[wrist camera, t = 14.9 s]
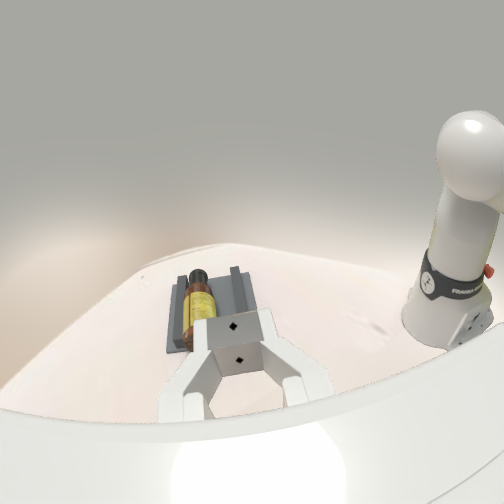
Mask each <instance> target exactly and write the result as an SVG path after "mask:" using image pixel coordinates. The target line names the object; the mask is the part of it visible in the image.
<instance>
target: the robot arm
mask: <svg viewBox="0 0 504 504" xmlns="http://www.w3.org/2000/svg"><path fill="white" fill-rule="evenodd" d="M436 160H437V165H438V169H439V172H440V174H441V176H442V178H443V180H444V185H443V189H442V193H441V197H440V200H439V204H438V206H437V210H436V216H435V221H434V225H433V230H432V235H431V239H430V244H429V248H428V249H427V250H426V252H425V255H424V257H423V262H422V266H421V270H420V272H419V275H418V277H417V280H416V282H415V285H414V287H413V288H411V289H410V291H409V294H408V301H407V302H406V304H405V306H404V308H403V310H402V321H403V324H404V326H405V328H406V330H407V331H408V332H409V333H410V335H411V336H413V337H414V338H415V339H416V340H417V341H419V342H421V343H423V344H425V345H428V346H431V347H435V348H441V349H445V350H447V351H448V352H446V353H444V354H442V355H439V356H438V357H435V358H433V359H431V360H429V361H426V362H424V363H422V364H420V365H417V366H415V367H413V368H410V369H408V370H405V371H403V372H400V373H398V374H395V375H393V376H390V377H387V378H384V379H382V380H379V381H376V382H373V383H371V384H367V385H364V386H362V387H358V388H355V389H352V390H349V391H346V392H342V393H339V394H336V392H335V389H334V387H333V384H332V381H331V379H330V376H329V374H328V371H327V368H326V367H325V366H323V365H322V364H320V363H319V362H317V361H316V360H314V359H313V358H311V357H310V356H309V355H307V354H306V353H304V352H303V351H301V350H300V349H299V348H297V347H296V346H294V345H293V344H292V343H290V342H289V341H287V340H286V339H285V338H283V337H281V338H279V336H278V333H277V329H276V326H275V323H274V319H273V316H272V312H271V309H270V308H264V309H259V310H254V311H249V312H244V313H238V314H233V315H227V316H220V317H213V318H207V319H200V320H194V325H193V349H194V352H191V353H189V355H188V356H187V357H186V359H185V360H184V361H183V363H182V364H181V365H180V367H179V368H178V369H177V371H176V372H175V373H174V375H173V376H172V378H171V379H170V380H169V382H168V383H167V384H166V386H165V387H164V388H163V390H162V391H161V392H160V394H159V399H158V419H157V423H103V422H87V421H75V420H66V419H57V418H50V417H43V416H37V415H31V414H25V413H20V412H15V411H11V410H6V409H1V408H0V504H504V323H499V324H497V325H495V326H494V327H492V328H490V329H489V330H487V331H486V332H484V331H485V330H486V329H487V328H488V327H489V326H490V325H491V324H492V322H493V319H494V317H493V314H492V311H491V309H490V304H491V301H492V296H491V293H490V291H489V289H488V287H487V286H486V285H485V283H484V282H483V278H484V274H485V276H486V277H487V278H488V279H489V278H491V276H492V275H493V273H494V269H493V268H491V267H490V266H489V265H488V264H486V261H487V258H488V255H489V252H490V249H491V246H492V243H493V239H494V236H495V233H496V229H497V225H498V220H499V215H500V212H501V213H503V214H504V126H503V125H502V124H501V123H500V122H499V120H498V119H496V118H495V117H494V116H493V115H491V114H489V113H487V112H485V111H480V110H472V111H466V112H461V113H459V114H456V115H454V116H452V117H451V118H450V119H449V120H448V121H446V123H445V124H444V125H443V127H442V129H441V131H440V133H439V137H438V140H437V148H436ZM485 264H486V265H485ZM483 332H484V333H483ZM481 333H482V334H481ZM261 370H264V371H265V372H266V373H267V374H268V375H269V376H270V377H271V378H272V379H273V380H274V381H275V382H276V383H278V384H279V385H280V386H281V387H282V388H283V406H284V407H283V408H279V409H274V410H269V411H263V412H257V413H251V414H245V415H239V416H232V417H224V418H216V419H215V417H214V415H213V413H212V412H211V410H210V408H209V406H208V405H209V403H210V401H211V399H212V397H213V395H214V393H215V391H216V389H217V387H218V386H219V384H220V382H221V380H222V377H225V376H231V375H236V374H242V373H248V372H255V371H261Z"/></svg>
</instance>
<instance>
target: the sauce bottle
mask: <svg viewBox="0 0 504 504" xmlns="http://www.w3.org/2000/svg"><path fill="white" fill-rule="evenodd" d="M207 281H208V277H207V274H206V272H205V271H204V270H201V269H195V270H193V271H192V272H191V273H190V275H189V282H190V286H189V287H188V288H187V290H186V291H185V293H184V303H183V341H184V345H185V347H186V348H187V349H188V350H189V351H191V352H194V349H193V325H194V320H200V319H207V318H213V317H217V314H216V305H215V299H214V296H213V293H212V290H211V288H210V287H209V286H208V285H207Z"/></svg>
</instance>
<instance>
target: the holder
mask: <svg viewBox="0 0 504 504" xmlns="http://www.w3.org/2000/svg"><path fill="white" fill-rule="evenodd" d="M230 272H231V275H229V276H223V277H217V278H211V279H208V281H207V285H208V286H209V287H210V288H211V290H212V293H213V296H214V299H215V305H216V314H217V317H220V316H227V315H233V314H238V313H244V312H249V311H254V310H257V307H256V302H255V298H254V294H253V289H252V285H251V281H250V276H249V272H246V273H240V270H239V266H236V267H230ZM189 286H190V282H188V279H187V275H183V276H178V280H177V284H175V285H173V286H172V295H171V304H170V314H169V324H168V335H167V347H166V353H176V352H184V351H189V350H188V349H187V348H186V347H185V345H184V341H183V303H184V293H185V291H186V290H187V288H188V287H189Z"/></svg>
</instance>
